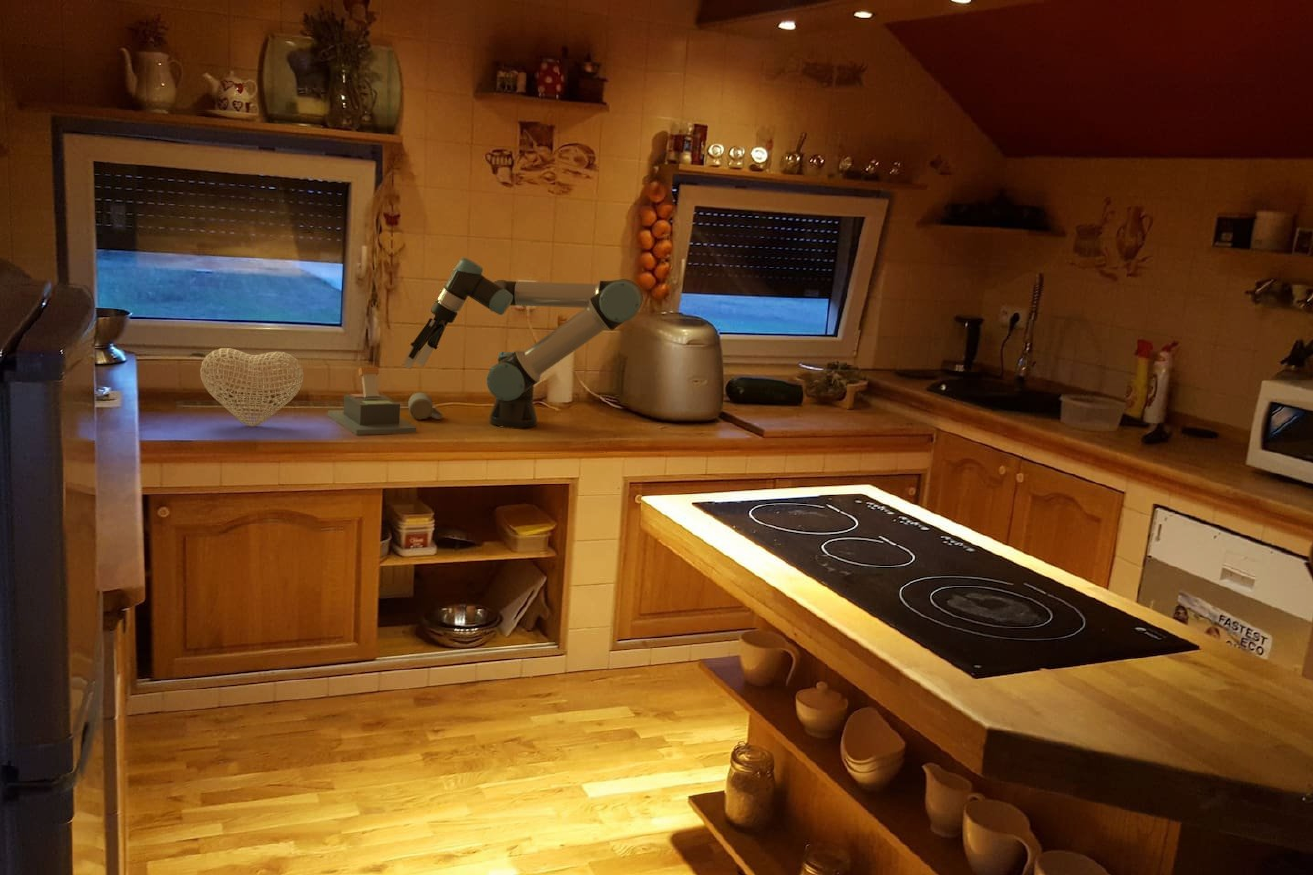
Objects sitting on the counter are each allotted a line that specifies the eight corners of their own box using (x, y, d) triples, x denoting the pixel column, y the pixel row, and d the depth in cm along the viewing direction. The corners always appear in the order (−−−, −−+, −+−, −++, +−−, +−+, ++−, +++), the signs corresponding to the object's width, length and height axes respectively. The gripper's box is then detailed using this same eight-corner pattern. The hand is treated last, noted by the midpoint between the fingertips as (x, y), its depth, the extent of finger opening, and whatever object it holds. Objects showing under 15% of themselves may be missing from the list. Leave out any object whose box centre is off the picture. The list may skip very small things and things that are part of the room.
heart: (193, 429, 306) (192, 350, 301) (209, 418, 321) (209, 343, 316) (296, 435, 309) (297, 357, 305) (307, 424, 324) (308, 350, 320)
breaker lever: (361, 398, 331) (358, 369, 332) (378, 398, 333) (375, 369, 335) (364, 396, 328) (361, 367, 330) (381, 395, 331) (378, 367, 332)
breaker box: (327, 415, 339) (328, 390, 337) (384, 413, 349) (384, 389, 347) (356, 435, 316) (357, 408, 314) (415, 432, 326) (416, 406, 324)
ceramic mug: (408, 420, 342) (410, 396, 340) (407, 415, 349) (408, 391, 348) (443, 422, 345) (444, 398, 343) (441, 416, 352) (442, 393, 351)
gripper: (447, 299, 342) (414, 357, 345) (425, 299, 317) (389, 361, 321) (467, 312, 342) (434, 369, 345) (447, 313, 318) (411, 375, 321)
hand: (412, 365), depth 333 cm, fingers open, 13 cm apart
